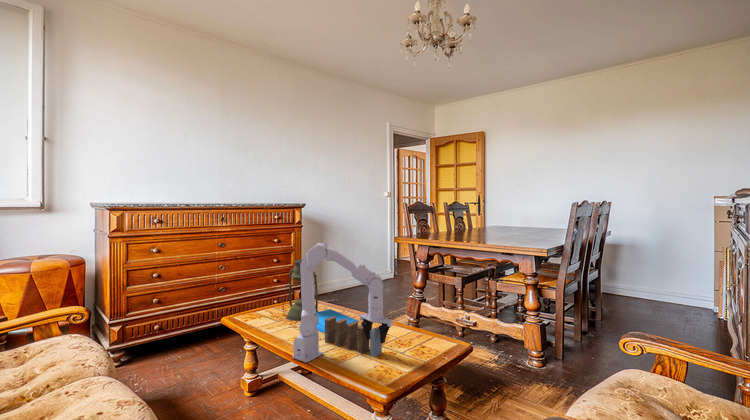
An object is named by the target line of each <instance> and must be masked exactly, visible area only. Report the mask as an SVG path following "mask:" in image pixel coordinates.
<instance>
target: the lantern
mask: <svg viewBox="0 0 750 420" xmlns="http://www.w3.org/2000/svg"><path fill="white" fill-rule="evenodd" d="M303 259H304V258H299V259H295V260H294V261H293V263H295V265H294V267H293V268H291V270H290V271H289V272H288V273H289V275H288V279H287V283H286V285H285V286H286V288H285V290H284V291H285V292H284V294H286V293H287V287H289V288H288V301H289V302H288V303H289V308H290V309H289V310H288V312H287V314H285V310H284V308H285V305H284V304H285V301H283V304H282V311H283V315H284V318H286V319H287V320H289V321H295V322H296V321H297V322H299V321H300V322H301V314H302V295H301V296H299V297H297V296H296V299H295V300H294V301H293V302H292V294H294V293H293V291H294V288H292V282H293V280H294V281H295V282H297V284H299V285H301V272H300V264H301V262H302V260H303ZM317 277H318V275H316V272H315V271H314V270H313V279H314V298H315V309H316V312H319V309H318V308H319V307H318V306H319V298H318V297H319V296H318V293H319V292H318V280H317ZM292 279H293V280H292ZM288 283H289V285H288ZM300 297H301V298H300ZM285 298H286V295H284V296H283V300H285Z"/></svg>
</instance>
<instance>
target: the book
mask: <svg viewBox="0 0 750 420" xmlns="http://www.w3.org/2000/svg"><path fill="white" fill-rule="evenodd" d="M316 314H317V316H318V318H319V322H318V324H317V326H316V327H317V329H318V331H319V332H320V333H323V334H324V335H325V319H327V318H329V317H332V316H334V317H336V321H339V320H341V319H346V320H347V324H349V323H351V322H354V321H355V322H358V323H359V320H358V319H356V318H353V317H351V316H349V315H346V314H344V313H341V312H339V311H335V310H333V309H331V308H329V309H328V308H327V309H325V310H321V311H320V310H319V311H318V312H316Z"/></svg>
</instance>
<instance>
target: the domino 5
mask: <svg viewBox="0 0 750 420" xmlns="http://www.w3.org/2000/svg"><path fill="white" fill-rule="evenodd" d="M382 347H383V344H381V342H380V331H379V328H378V326H377V327H374V328H372V330H370V339H369V356H370V357H372V358H376V357H377V356H379V355H381V354H382V353H383V352H382V351H383V350H382V349H383V348H382Z"/></svg>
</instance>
